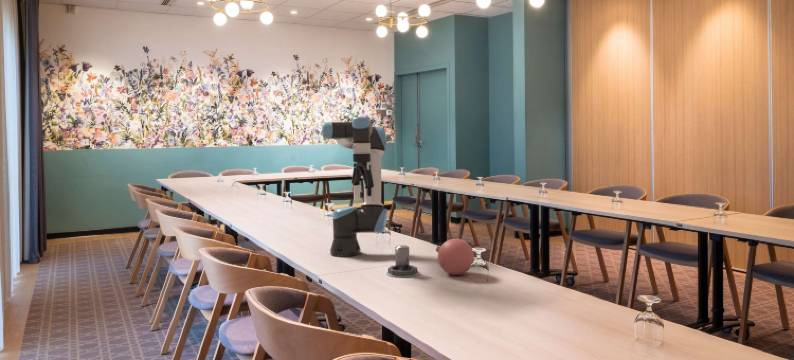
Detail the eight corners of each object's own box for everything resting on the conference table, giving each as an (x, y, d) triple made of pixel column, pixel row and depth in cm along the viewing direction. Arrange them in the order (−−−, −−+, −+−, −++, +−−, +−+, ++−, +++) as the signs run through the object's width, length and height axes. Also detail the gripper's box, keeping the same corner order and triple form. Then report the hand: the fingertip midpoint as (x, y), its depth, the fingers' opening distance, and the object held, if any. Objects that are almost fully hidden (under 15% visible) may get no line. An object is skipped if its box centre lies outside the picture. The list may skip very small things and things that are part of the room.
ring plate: (381, 271, 270) (381, 266, 270) (410, 268, 276) (410, 262, 275) (394, 279, 257) (394, 273, 257) (424, 275, 263) (424, 269, 263)
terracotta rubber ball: (452, 266, 278) (452, 232, 276) (481, 275, 261) (481, 239, 260) (424, 271, 270) (424, 236, 268) (452, 281, 253) (452, 243, 251)
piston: (393, 271, 268) (393, 245, 267) (406, 270, 270) (405, 244, 269) (399, 274, 262) (398, 248, 261) (411, 273, 265) (411, 247, 264)
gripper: (343, 152, 277) (344, 199, 279) (364, 154, 254) (365, 205, 256) (359, 151, 280) (360, 198, 282) (381, 153, 257) (382, 204, 259)
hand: (362, 201), depth 269 cm, fingers open, 13 cm apart
